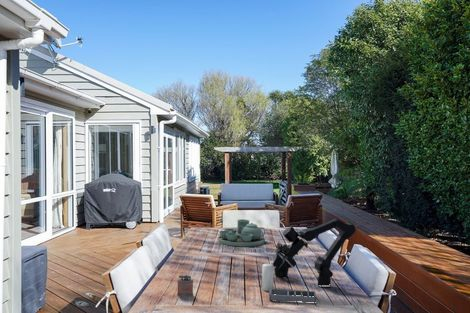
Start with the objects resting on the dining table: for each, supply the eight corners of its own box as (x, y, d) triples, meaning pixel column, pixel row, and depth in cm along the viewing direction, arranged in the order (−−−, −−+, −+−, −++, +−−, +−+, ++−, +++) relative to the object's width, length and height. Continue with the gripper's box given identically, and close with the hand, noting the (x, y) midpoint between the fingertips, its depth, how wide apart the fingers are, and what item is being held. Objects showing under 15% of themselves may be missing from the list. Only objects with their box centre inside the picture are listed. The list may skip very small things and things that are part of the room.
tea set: (211, 239, 341) (211, 220, 342) (251, 236, 358) (252, 218, 359) (229, 248, 305) (230, 227, 306) (273, 245, 322) (274, 225, 323)
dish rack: (315, 297, 199) (315, 290, 199) (316, 304, 189) (316, 296, 189) (270, 294, 202) (270, 287, 202) (269, 300, 192) (269, 293, 192)
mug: (273, 274, 238) (273, 257, 239) (288, 274, 238) (288, 258, 238) (273, 280, 226) (274, 262, 227) (289, 280, 226) (289, 263, 226)
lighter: (193, 293, 201) (193, 274, 201) (192, 295, 197) (193, 276, 197) (177, 293, 200) (177, 273, 200) (176, 295, 197) (177, 275, 197)
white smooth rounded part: (273, 287, 212) (273, 263, 212) (272, 291, 206) (273, 266, 206) (262, 287, 213) (262, 263, 213) (261, 290, 207) (262, 266, 207)
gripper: (279, 234, 221) (260, 254, 219) (291, 241, 203) (270, 263, 200) (292, 248, 223) (273, 268, 220) (305, 255, 205) (284, 277, 202)
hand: (274, 268), depth 211 cm, fingers open, 9 cm apart
